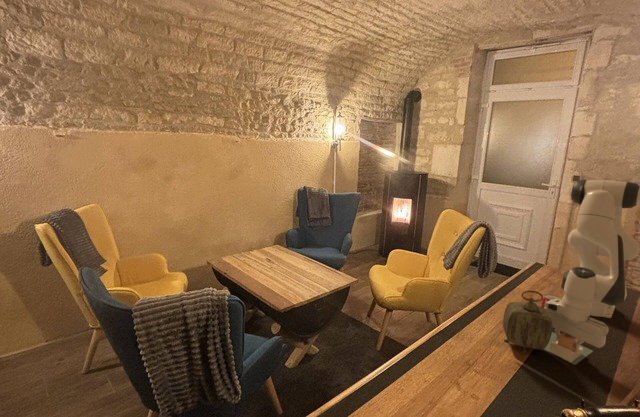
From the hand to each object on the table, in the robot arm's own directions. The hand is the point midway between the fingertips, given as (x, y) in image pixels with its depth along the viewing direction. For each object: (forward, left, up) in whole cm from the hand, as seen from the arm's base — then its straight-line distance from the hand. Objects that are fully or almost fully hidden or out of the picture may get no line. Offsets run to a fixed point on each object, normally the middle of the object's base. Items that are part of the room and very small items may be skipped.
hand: (567, 344), depth 125 cm
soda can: (-20, -15, -5) cm, 25 cm away
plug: (0, 0, -3) cm, 3 cm away
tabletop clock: (+12, -10, -5) cm, 16 cm away
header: (0, 0, -4) cm, 4 cm away
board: (-3, -5, -5) cm, 7 cm away
